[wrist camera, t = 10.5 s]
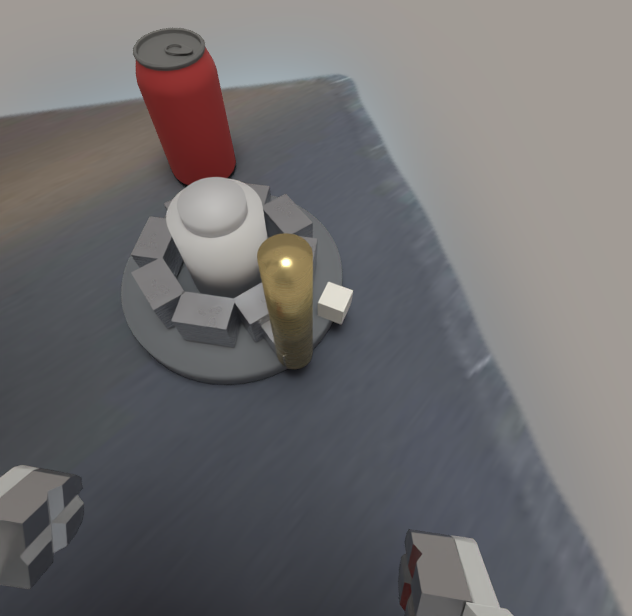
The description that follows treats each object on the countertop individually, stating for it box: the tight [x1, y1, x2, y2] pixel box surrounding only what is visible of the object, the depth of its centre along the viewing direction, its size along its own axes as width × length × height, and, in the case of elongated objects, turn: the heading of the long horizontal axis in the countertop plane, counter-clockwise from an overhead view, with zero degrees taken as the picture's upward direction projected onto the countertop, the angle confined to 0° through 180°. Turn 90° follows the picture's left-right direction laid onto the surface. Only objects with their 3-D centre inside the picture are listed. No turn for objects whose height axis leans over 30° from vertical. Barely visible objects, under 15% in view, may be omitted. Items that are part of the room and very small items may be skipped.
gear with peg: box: [131, 183, 318, 369], centre depth 26 cm, size 17×13×12 cm
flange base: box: [121, 177, 353, 385], centre depth 29 cm, size 19×18×10 cm
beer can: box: [133, 28, 236, 185], centre depth 36 cm, size 7×7×12 cm
